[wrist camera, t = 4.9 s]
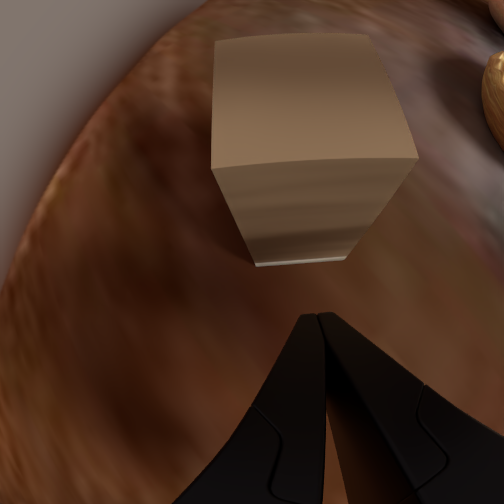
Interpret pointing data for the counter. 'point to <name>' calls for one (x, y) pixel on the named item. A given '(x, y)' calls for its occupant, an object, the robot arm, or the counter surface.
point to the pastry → (494, 96)
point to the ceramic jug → (497, 12)
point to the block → (305, 142)
